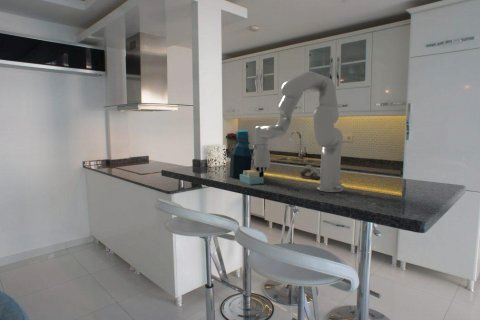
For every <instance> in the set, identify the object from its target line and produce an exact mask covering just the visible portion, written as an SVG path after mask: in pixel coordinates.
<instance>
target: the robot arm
mask: <svg viewBox="0 0 480 320" xmlns="http://www.w3.org/2000/svg"><path fill="white" fill-rule="evenodd" d="M308 90H310V91H313V92H318V103H319V105H318V106H317V107H316V108H315V109H314V111H313V114H312V115H313V116H312V119H313V120H312V121H313V130H314V138H315V141H316V143H317V144H318V146H320V147H321V153H320V155H321V156H320V171H321V173H320V179H319V180H320V181H319V185H318V186H316V190H318V191H320V192H325V193H341V192H343V190H344V189H345V185H344V184H342V182H341V181H340V180H341V162H342V161H341V159H342V149H343V141H344V136H343V133H342V131H341V130H340V129H338V128H337V127H335V124H336V123H337V122H338V120H339V108H338V107H339V106H338V105H339V104H338V99H337V90H336V85H335V83H334V81H333V80H332V79H331V78H330V77H328V76H326V75H323V74H319V73H317V72H314V71H305V72H303V73H301V74H299V75H297V76H294V77H292V78H289V79H287V80H286V81H284V83H283V84H282V86H281V88H280V91H281V94H282V95H283V96H282V99H281V100H280V102H279V104H278V106H277V108H278V109H277V110H278V111H279V114H280V116H279V118H278V121H277V123H276V125H256V126H255V128H254V145H252V149H253V150H252V151H253V152H252V159H251V170H255V171H259V177H265V176H264V175H265V172H266V170H267V169H270V166H271V155H270V154H271V153H270V150H269V147H268V146H269V141H268V140H275V139H276V140H277V139H281V138H283V137H284V136H285V134H286V133H287V131H288V129H289V127H290V125H291V122H292V117H293V116H292V115H293V113H294V110H295V109H296V107H297V105H298V104H299V101H300V100H301V98H302V96H303V94H304V92H305V91H308Z"/></svg>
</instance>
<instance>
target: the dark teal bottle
mask: <svg viewBox="0 0 480 320" xmlns="http://www.w3.org/2000/svg"><path fill="white" fill-rule="evenodd" d="M235 136H236V137H235V138H236V140H237V143H236V145H234V147H233V149H232V151H231V153H230V161H229V162H230V163H229V177H231V178H233V179H239V180H240V174H242V175H243V171H247V170H252V157H253V155H252V152H251V149H250V144H251V142H250V140H249V139H250V138H249V130H246V129H240V130H237V131H236V135H235Z"/></svg>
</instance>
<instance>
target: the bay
mask: <svg viewBox="0 0 480 320" xmlns="http://www.w3.org/2000/svg"><path fill="white" fill-rule="evenodd" d="M264 177H265V176H264ZM264 177H255V178H251V177H249V176H246V175H242V174H240V179H239V182H242V183H244V184H247V185H259V184H260V183H261V184H264V182H265V181H264Z"/></svg>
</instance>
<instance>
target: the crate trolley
mask: <svg viewBox="0 0 480 320" xmlns="http://www.w3.org/2000/svg"><path fill="white" fill-rule="evenodd" d="M243 175H246V176H249V177H251V178H255V177H259V171H257V170H256V169H251V170H247V171H243Z"/></svg>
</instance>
